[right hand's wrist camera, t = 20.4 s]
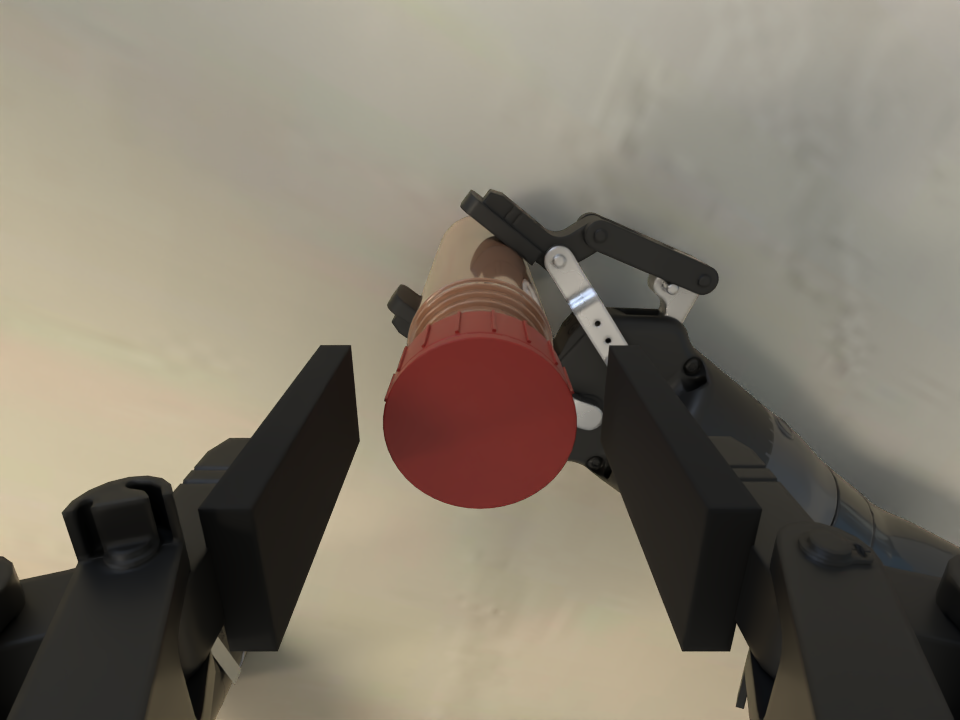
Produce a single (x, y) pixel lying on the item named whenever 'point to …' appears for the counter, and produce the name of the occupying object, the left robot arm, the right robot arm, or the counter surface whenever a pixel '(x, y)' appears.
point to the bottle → (478, 281)
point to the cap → (480, 411)
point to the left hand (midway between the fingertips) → (430, 248)
